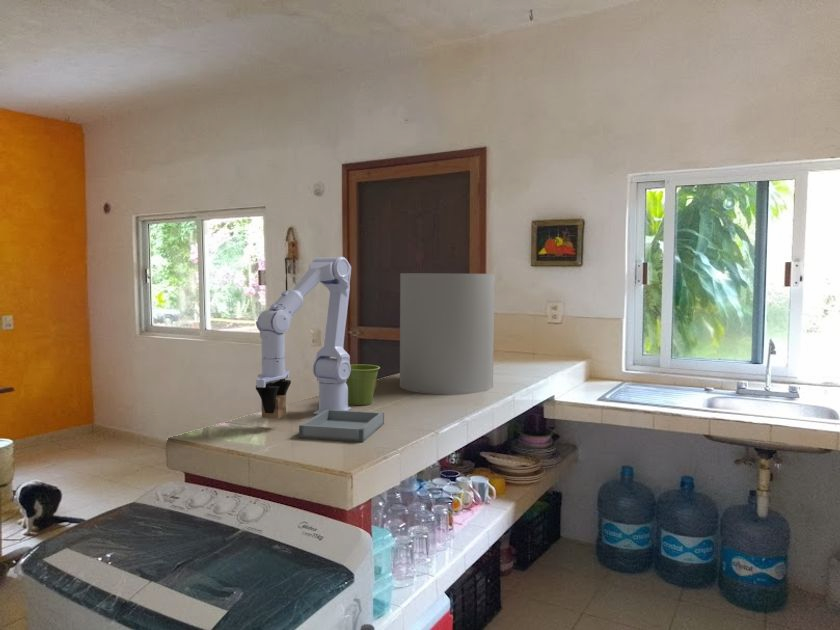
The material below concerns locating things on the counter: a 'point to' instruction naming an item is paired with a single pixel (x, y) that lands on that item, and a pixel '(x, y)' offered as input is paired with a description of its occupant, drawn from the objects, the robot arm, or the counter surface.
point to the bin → (342, 425)
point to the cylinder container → (446, 332)
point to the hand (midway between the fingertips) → (274, 410)
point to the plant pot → (361, 384)
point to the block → (277, 408)
